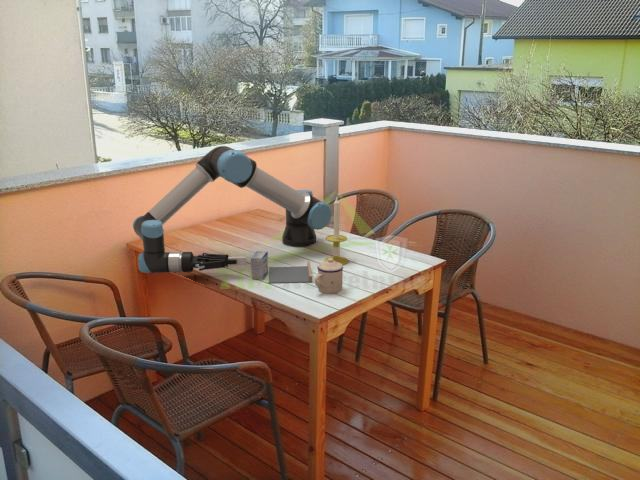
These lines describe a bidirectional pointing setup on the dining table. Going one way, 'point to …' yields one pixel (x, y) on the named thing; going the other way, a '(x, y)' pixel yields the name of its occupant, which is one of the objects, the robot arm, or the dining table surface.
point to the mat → (290, 274)
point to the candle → (337, 237)
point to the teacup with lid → (329, 277)
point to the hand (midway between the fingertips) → (245, 260)
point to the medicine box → (259, 265)
